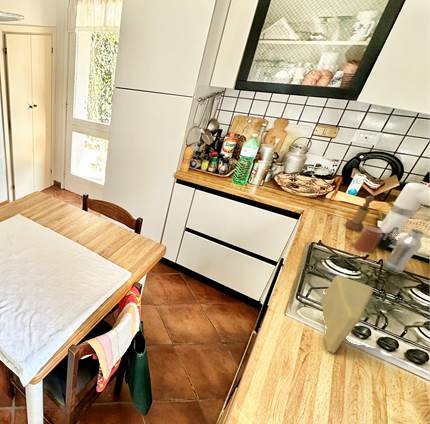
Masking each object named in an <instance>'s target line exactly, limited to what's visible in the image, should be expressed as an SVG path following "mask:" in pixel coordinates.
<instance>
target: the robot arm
mask: <svg viewBox="0 0 430 424" xmlns="http://www.w3.org/2000/svg"><path fill="white" fill-rule="evenodd" d="M422 205H424V206H427V207H430V186H428V185H426V184H423V183H419V182H408V183H406V184H405V186H404V187H403V188H402V190H401V191H400V193H399V194H398V196H397V198H396V199H395V201H394V202H393V204H392V206H391V207H390V209H389V211H388V213H387V214H386V216H385V217H384V218H383V220H382V222H381V223H380V225H379V226H380V230H382V231H383V233H382V234H385V237H384V239H382V240H381V241H380V243H379V244H378V246H379V247H383V248H387V249H388V248H389V247H390V245H392V244H391V242H392V241H393V240H394V239H395V238H396V237H398V236H399V235H400V234H401V233H402V231H403V229H404V228H405V226H406V225H407V223H408V221H409V220H410V218H413V217H414V216H415V215H416V214H417V212H418V211H419V209H420V207H421V206H422ZM396 234H397V235H396ZM398 234H399V235H398ZM387 236H388V237H387ZM389 236H390V237H389ZM379 247H378V248H379ZM383 248H382V249H383Z"/></svg>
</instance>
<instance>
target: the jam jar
mask: <svg viewBox="0 0 430 424" xmlns="http://www.w3.org/2000/svg"><path fill="white" fill-rule="evenodd" d="M382 233H383V231H382V230H381V228H378V227H376V226H369V225H368V226H365V228H364V227H363V228H362V230H361V231H360V234H359V236H357V239H356V240H355V241H354V243H353V247H354V248H355V249H356V250H358V251H360V252H364V253H373V251H374V250H375V248H376V247H377V246H376V245H377V243H378V242H379V240H380V239H381V237H382V236H383V234H382Z"/></svg>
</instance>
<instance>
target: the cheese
mask: <svg viewBox="0 0 430 424" xmlns="http://www.w3.org/2000/svg"><path fill="white" fill-rule="evenodd" d="M373 293H374V288H373V287H372V286H370V285H368V284H365V283H363V282H359V281H357V280H353V279H351V278H348V277H345V276H342V275H335V276H334V278H333V279H332V281H331V282H330V284H329V286H328V288H327V289H326V291H325V293H324V294H323V296H322V297H321V299H320V301H319V303H321V305H322V307H323V316H324V320H325V324H326V327H327V329H326V334H325V333H324V340H325V345H326V350H327V352H330V353H332V354H335V353H336V352H337V350H338V349H339V347H340V346H341V344H342V343H343V342H344V341H345V339H346V338H347V337H348V336H349V334H350V333H351V332H352V331H353V330H354V328H355V327H356V325H357V324H358V323H359V321H360V320H361V318H362V316H363V314H364V312H365V310H366V307H367V305H368V304H369V301H370V299H371V298H372V295H373ZM321 318H322V317H321ZM324 320H323V318H322V323H323V324H324ZM325 336H326V337H325Z"/></svg>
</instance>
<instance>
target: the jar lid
mask: <svg viewBox="0 0 430 424" xmlns="http://www.w3.org/2000/svg"><path fill="white" fill-rule="evenodd" d="M384 237H385V234H383V236H382V237H381V239H380V240H379V242H380V241H381V240H382V239H384ZM387 237H388V236H387ZM389 237H390V235H389ZM396 242H397V240H396V239H395V238H394V240H393V241H392V242H391V244H390V245H394V244H395V243H396Z"/></svg>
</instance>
